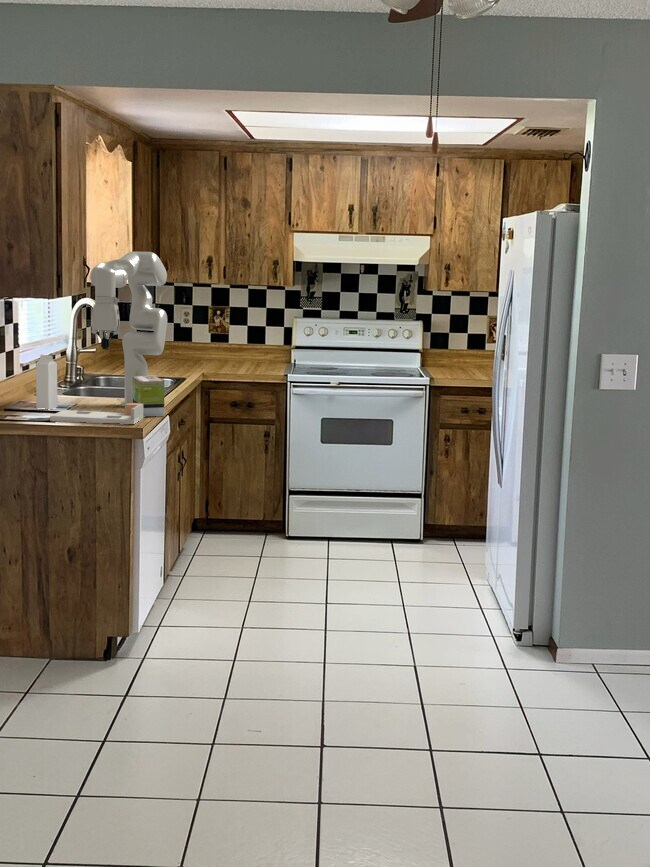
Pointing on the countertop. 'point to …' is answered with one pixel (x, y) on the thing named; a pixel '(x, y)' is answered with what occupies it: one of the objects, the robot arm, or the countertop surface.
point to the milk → (46, 382)
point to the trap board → (99, 416)
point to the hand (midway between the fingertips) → (105, 349)
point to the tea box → (149, 394)
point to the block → (130, 407)
